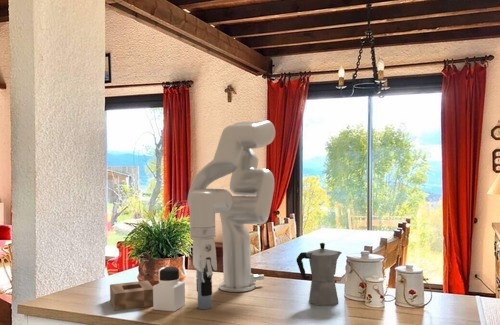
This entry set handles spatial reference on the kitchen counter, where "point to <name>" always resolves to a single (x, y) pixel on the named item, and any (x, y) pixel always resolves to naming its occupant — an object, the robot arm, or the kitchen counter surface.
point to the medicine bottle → (168, 290)
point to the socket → (131, 295)
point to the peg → (203, 301)
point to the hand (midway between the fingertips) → (204, 292)
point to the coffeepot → (321, 275)
